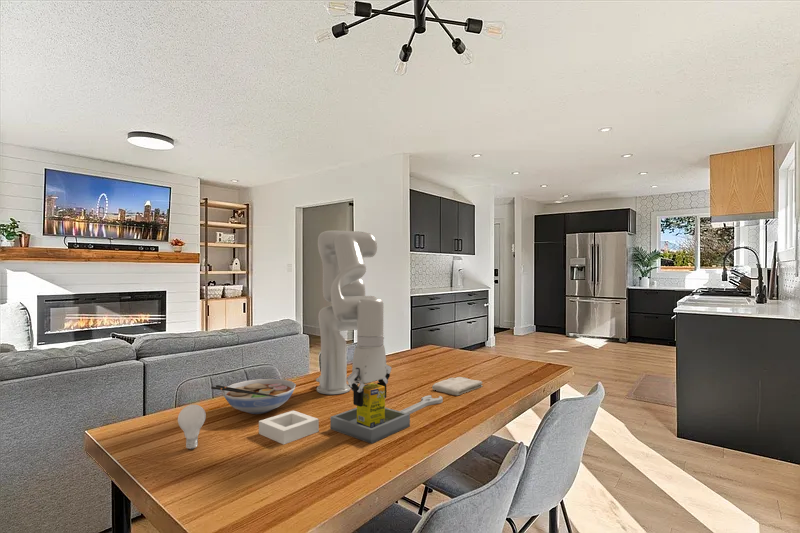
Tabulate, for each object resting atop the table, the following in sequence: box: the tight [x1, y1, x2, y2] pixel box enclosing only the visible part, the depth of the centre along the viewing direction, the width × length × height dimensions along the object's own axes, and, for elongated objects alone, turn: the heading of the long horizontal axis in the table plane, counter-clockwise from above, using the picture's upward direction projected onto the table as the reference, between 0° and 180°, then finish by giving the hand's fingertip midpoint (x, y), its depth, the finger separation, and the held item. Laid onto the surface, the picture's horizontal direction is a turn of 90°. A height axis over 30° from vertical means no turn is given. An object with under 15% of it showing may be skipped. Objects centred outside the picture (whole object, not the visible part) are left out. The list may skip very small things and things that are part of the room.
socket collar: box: [258, 410, 320, 445], centre depth 118 cm, size 12×12×4 cm
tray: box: [330, 406, 411, 445], centre depth 121 cm, size 16×16×4 cm
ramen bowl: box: [210, 378, 297, 415], centre depth 137 cm, size 25×23×8 cm
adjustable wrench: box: [399, 394, 444, 415], centre depth 139 cm, size 25×6×2 cm, turn 139°
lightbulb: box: [177, 404, 207, 450], centre depth 107 cm, size 6×6×11 cm
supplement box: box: [356, 382, 386, 428], centre depth 122 cm, size 6×6×11 cm
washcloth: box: [431, 376, 484, 397], centre depth 162 cm, size 12×18×3 cm, turn 138°
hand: (370, 401), depth 122 cm, fingers open, 9 cm apart
